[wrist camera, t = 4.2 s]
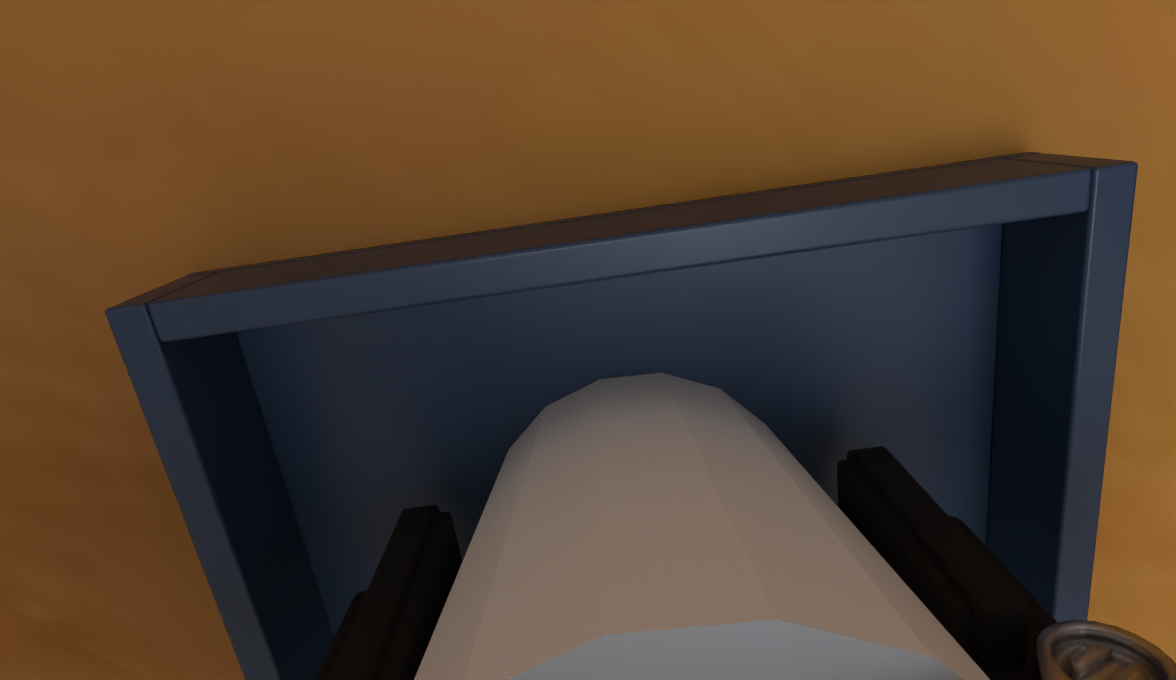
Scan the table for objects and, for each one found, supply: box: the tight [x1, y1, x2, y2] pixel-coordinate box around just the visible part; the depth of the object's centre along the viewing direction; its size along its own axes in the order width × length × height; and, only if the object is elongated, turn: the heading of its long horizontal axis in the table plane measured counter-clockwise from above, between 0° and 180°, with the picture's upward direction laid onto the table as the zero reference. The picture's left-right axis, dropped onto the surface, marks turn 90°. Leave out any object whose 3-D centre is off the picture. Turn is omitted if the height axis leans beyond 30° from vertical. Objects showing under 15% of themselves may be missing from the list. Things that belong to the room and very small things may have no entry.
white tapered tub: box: [414, 373, 990, 680], centre depth 10 cm, size 7×7×7 cm
